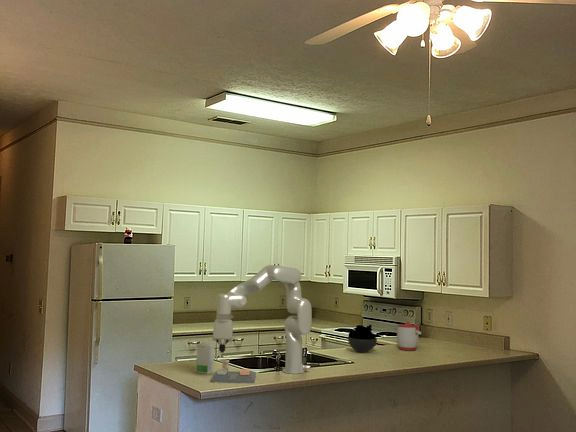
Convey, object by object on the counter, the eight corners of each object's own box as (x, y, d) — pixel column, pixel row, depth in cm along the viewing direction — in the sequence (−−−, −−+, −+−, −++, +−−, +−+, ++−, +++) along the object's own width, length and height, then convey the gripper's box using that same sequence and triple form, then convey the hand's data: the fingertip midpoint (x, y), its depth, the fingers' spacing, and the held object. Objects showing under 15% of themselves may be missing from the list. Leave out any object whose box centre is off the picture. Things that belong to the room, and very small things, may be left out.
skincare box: (195, 372, 342) (196, 344, 343) (201, 370, 348) (201, 342, 349) (208, 373, 339) (209, 345, 340) (214, 371, 345) (214, 343, 346)
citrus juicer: (416, 352, 424) (416, 323, 425) (392, 349, 433) (393, 321, 434) (424, 349, 437) (424, 321, 438) (401, 347, 446) (401, 319, 447)
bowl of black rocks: (349, 354, 410) (349, 326, 411) (346, 349, 430) (346, 322, 431) (378, 355, 410) (379, 326, 411) (374, 350, 430) (374, 323, 431)
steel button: (227, 372, 325) (227, 368, 325) (226, 374, 320) (226, 370, 320) (218, 372, 325) (218, 368, 325) (217, 374, 320) (217, 370, 320)
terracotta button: (250, 373, 325) (250, 369, 325) (249, 375, 320) (249, 371, 320) (240, 373, 325) (240, 369, 325) (239, 375, 320) (240, 371, 320)
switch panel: (255, 375, 337) (255, 369, 337) (253, 383, 318) (254, 376, 318) (215, 374, 337) (216, 368, 337) (211, 382, 318) (211, 375, 318)
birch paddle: (228, 371, 335) (229, 359, 336) (228, 372, 332) (228, 361, 333) (222, 371, 335) (222, 359, 336) (221, 372, 332) (221, 360, 333)
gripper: (238, 317, 328) (236, 351, 327) (210, 316, 328) (208, 350, 327) (237, 318, 320) (235, 354, 319) (208, 317, 320) (207, 352, 319)
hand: (222, 352), depth 323 cm, fingers closed
